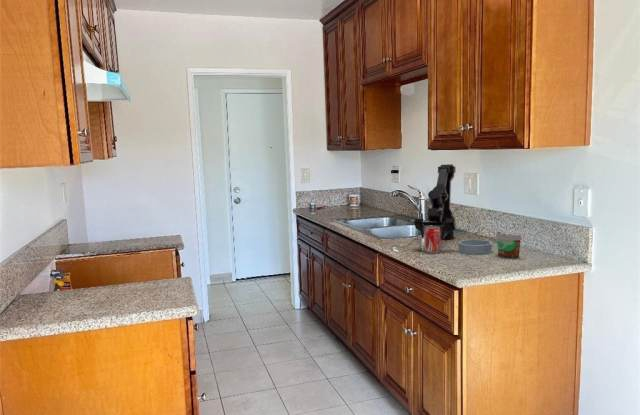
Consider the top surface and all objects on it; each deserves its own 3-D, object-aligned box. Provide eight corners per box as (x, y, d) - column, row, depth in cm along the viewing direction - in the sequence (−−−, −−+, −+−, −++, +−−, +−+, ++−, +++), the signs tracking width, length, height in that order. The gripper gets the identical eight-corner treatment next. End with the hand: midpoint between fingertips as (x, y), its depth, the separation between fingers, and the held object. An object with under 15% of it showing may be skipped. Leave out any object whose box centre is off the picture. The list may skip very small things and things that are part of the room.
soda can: (425, 250, 233) (424, 225, 232) (440, 250, 232) (440, 225, 231) (425, 253, 226) (425, 228, 225) (441, 253, 225) (441, 227, 224)
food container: (489, 255, 218) (489, 232, 217) (499, 253, 221) (499, 231, 220) (511, 260, 207) (511, 236, 206) (521, 258, 210) (521, 235, 209)
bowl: (452, 251, 230) (452, 242, 229) (472, 246, 237) (472, 238, 237) (477, 255, 217) (477, 247, 217) (498, 250, 225) (498, 242, 225)
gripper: (414, 201, 234) (409, 228, 225) (454, 201, 226) (450, 229, 217) (418, 215, 242) (413, 241, 233) (457, 216, 234) (453, 243, 225)
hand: (432, 238), depth 227 cm, fingers open, 9 cm apart
